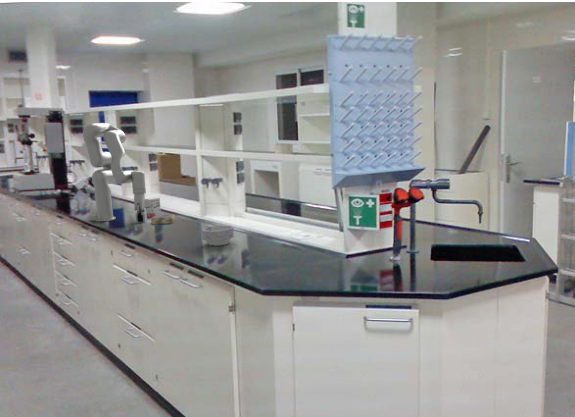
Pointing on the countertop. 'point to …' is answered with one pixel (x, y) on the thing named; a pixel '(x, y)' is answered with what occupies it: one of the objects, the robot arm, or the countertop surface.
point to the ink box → (152, 207)
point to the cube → (143, 217)
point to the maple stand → (163, 219)
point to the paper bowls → (218, 235)
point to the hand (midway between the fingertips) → (141, 220)
